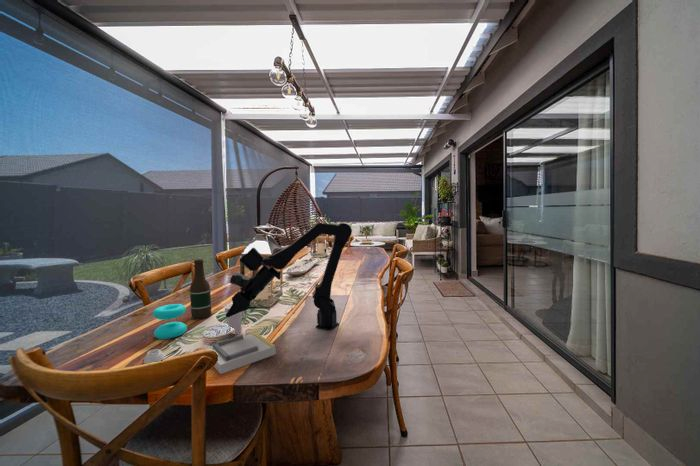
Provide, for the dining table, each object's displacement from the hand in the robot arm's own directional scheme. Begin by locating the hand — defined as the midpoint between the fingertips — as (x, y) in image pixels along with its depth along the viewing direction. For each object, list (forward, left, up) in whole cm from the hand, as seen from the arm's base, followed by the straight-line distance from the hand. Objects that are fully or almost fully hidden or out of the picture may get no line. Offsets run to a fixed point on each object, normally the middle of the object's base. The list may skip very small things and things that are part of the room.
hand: (230, 312), depth 106 cm
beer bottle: (+26, -7, -8) cm, 28 cm away
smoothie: (-1, -1, -8) cm, 8 cm away
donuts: (+19, +10, -8) cm, 23 cm away
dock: (-16, +11, -8) cm, 21 cm away
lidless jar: (+4, +24, -8) cm, 26 cm away
